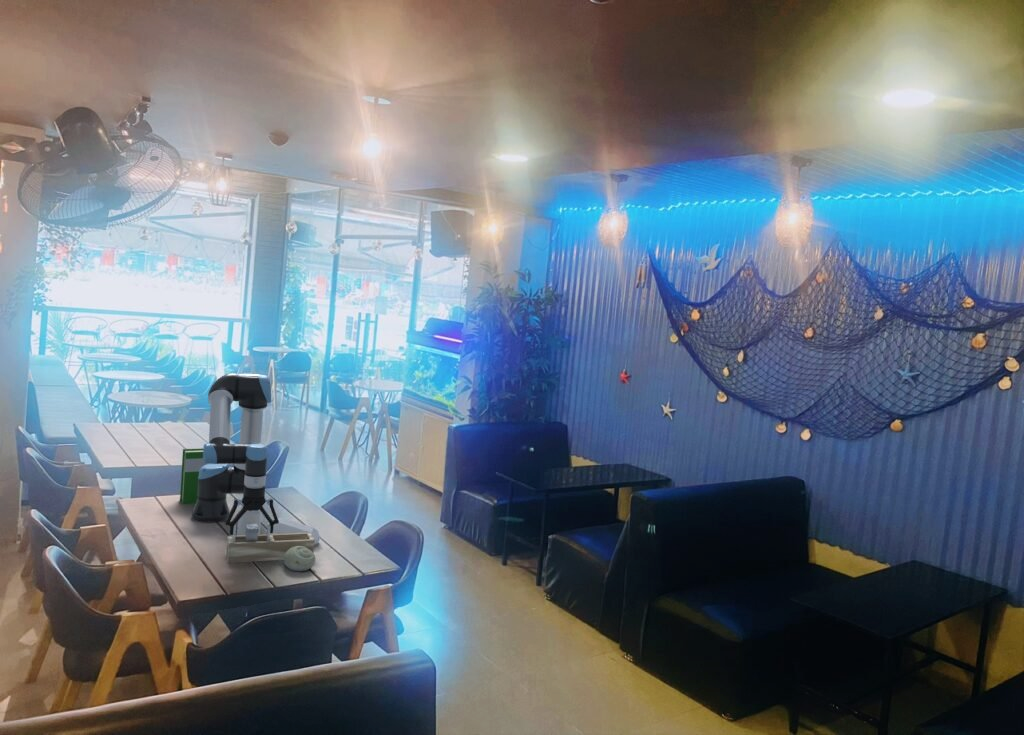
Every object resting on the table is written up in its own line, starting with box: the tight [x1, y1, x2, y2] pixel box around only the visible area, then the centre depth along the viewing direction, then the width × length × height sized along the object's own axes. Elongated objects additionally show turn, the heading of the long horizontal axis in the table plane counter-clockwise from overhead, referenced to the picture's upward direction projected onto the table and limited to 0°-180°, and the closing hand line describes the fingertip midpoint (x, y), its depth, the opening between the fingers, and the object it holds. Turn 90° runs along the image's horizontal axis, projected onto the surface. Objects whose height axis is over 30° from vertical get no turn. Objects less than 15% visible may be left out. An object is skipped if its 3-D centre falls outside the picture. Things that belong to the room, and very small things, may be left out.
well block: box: [226, 532, 315, 564], centre depth 275 cm, size 10×30×7 cm, turn 114°
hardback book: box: [179, 447, 207, 505], centre depth 335 cm, size 18×7×24 cm, turn 124°
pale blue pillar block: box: [245, 524, 259, 542], centre depth 271 cm, size 6×4×11 cm, turn 24°
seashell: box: [283, 546, 316, 572], centre depth 267 cm, size 13×8×10 cm
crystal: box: [270, 516, 321, 546], centre depth 297 cm, size 7×7×24 cm
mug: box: [236, 510, 263, 535], centre depth 292 cm, size 12×9×11 cm
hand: (250, 542), depth 273 cm, fingers open, 12 cm apart
